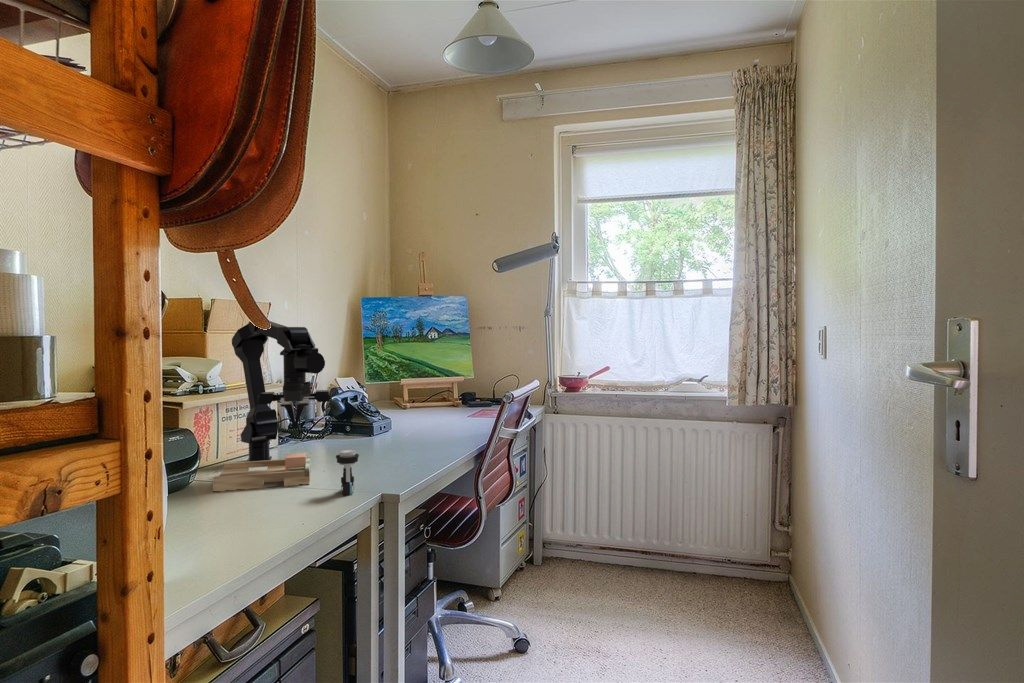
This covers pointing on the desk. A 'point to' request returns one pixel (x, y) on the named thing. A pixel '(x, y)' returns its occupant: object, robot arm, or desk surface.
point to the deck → (260, 475)
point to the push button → (347, 469)
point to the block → (295, 461)
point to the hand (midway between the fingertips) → (295, 428)
